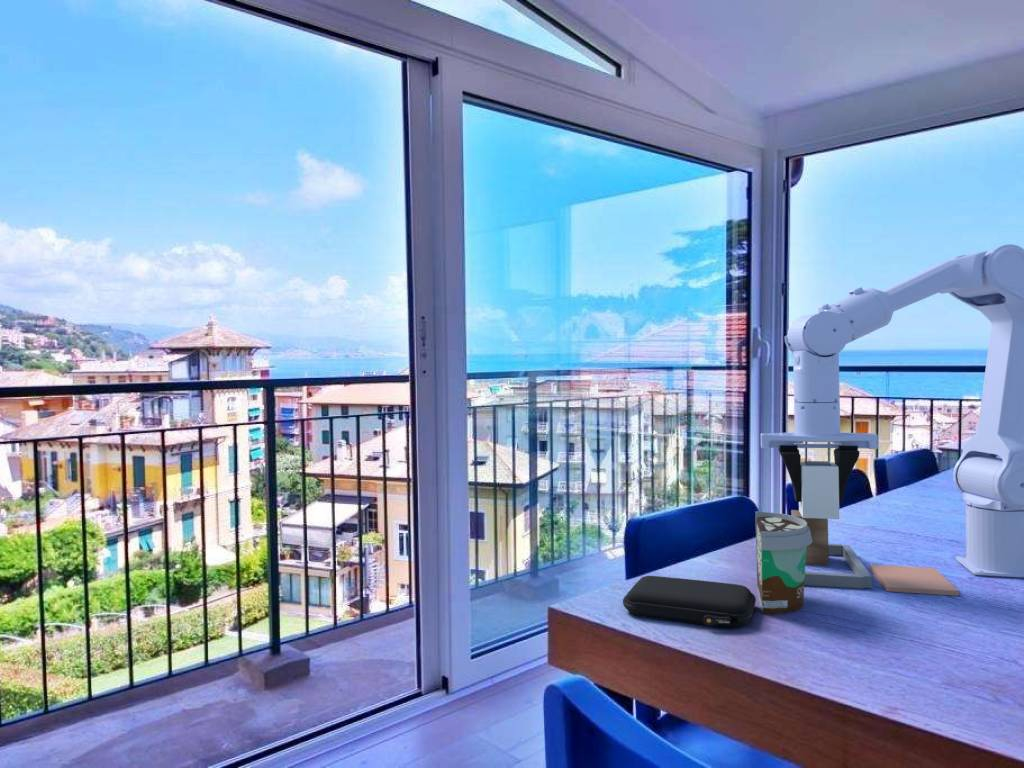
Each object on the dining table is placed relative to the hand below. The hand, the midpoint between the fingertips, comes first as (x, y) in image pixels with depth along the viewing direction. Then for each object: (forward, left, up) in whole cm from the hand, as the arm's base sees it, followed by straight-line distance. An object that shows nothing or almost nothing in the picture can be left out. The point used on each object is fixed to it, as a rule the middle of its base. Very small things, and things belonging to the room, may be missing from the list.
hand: (818, 500), depth 94 cm
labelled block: (0, 0, -2) cm, 2 cm away
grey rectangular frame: (0, -4, -10) cm, 11 cm away
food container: (+5, +12, -11) cm, 17 cm away
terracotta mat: (-11, 0, -10) cm, 15 cm away
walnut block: (0, -8, -10) cm, 13 cm away
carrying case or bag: (+17, +18, -11) cm, 27 cm away
